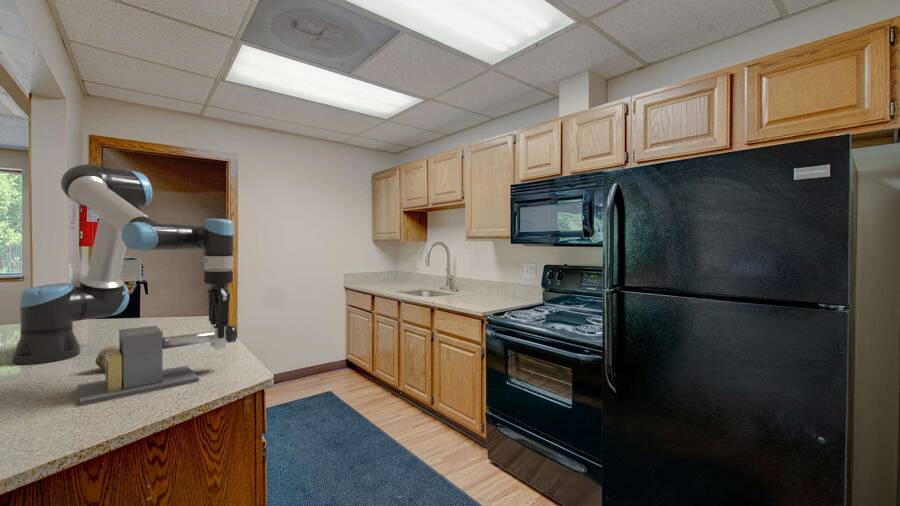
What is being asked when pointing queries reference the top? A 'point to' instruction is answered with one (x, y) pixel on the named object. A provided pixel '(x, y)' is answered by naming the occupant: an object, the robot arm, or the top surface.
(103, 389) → the mat
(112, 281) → the robot arm
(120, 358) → the block
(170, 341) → the shaft
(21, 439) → the top surface
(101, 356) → the mug
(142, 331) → the bearing block
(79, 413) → the top surface
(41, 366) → the top surface
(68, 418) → the top surface
